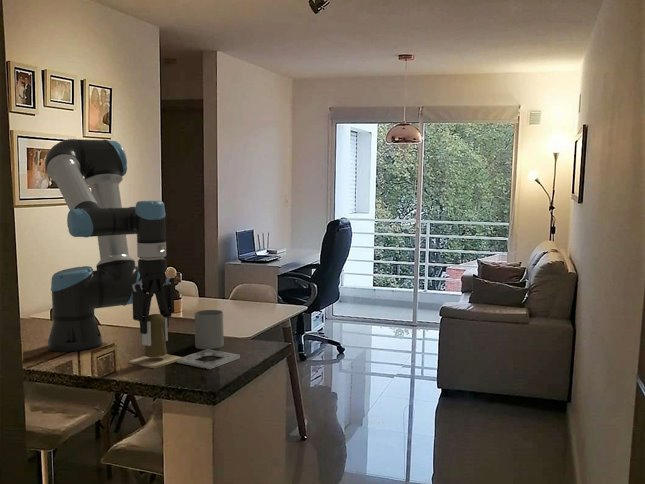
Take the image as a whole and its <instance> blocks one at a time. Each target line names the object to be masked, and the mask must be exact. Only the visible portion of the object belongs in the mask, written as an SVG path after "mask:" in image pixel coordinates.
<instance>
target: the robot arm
mask: <svg viewBox="0 0 645 484" xmlns="http://www.w3.org/2000/svg"><path fill="white" fill-rule="evenodd" d="M127 165H128V160H127V155H126V152H125V149H124V147H123V146H122V144H121V143H119V142H118V141H117V140H109V139H80V138H79V139H77V138H68V139H64V140H61V141H59V142H57V143H56V144H54V145H53V146H52V147H51V148H50V149H49V151H48V152H47V154H46V157H45V161H44V166H45V167H44V168H45V171H46V174H47V175H48V177H49V179H51V180H52V181H53V182H55V184H56V186H57V187H58V190H59V191H60V194H61V195H62V198H63V199H64V201H65V203H66V206H67V208H68V210H69V211H68V212H67V213H68V214H67V217H66V222H67V223H66V225H67V228H68V232H69V235H70V236H72V237H74V238H90V237H91V238H92V237H97V243H98V244H97V245H98V250H99V257H100V259H99V261H98V262H97V264H96V265H95V267H96V270H94V269H93V267H92V266H90V265H89V266H87V265H83V266H76V267H70V268H66V269H62V270H59V271H56V272H55V273H53V275H52V276H51V281H50V282H51V284H50V285H51V286H50V291H51V302H52V303H51V304H52V306H51V308H52V320H53V322H52V327H51V328H50V332H49V336H48V337H49V338H48V339H47V348H48V349H49V350H50V351H52V352H62V353H63V352H65V353H66V352H67V353H68V352H77V351H78V352H79V351H80V352H81V351H86V350H91V349H93V348H97V347H99V346H101V345H102V343H103V338H102V337H103V335H102V334H101V331H100V328H99V326H98V323H97V321H96V316H95V310H96V309H104V308H112V307H118V306H119V307H121V306H123V307H126V306H127V305H132V319H133V320H134V321H138V322H139V333H140V334H141V343H142V344H141V345H143V346H145V345H147V346H151V322H150V321H148V317H149V315H150V310H151V305H152V304H151V303H152V298H153V297H154V295H155V298H156V299H155V300H156V302H157V306H158V310H159V314H160V315H162V316H163V317H164V325H163V332H164V338H165V342H167V341H169V336H168V328H169V327H170V325H169V324H170V322H169V321H170V320H169V318H171V317H172V314H174V313H175V298H174V297H175V295H174V284H175V278H174V277H168V276H167V274H166V272H167V271H168V267H167V265H168V263H167V262H168V261H167V258H165V257H166V256H167V240H166V239H167V238H166V237H167V234H166V231H167V229H166V215H167V214H166V209H165V203H164V202H163V201H162V200H139V201H137V202H136V203H135V206H128V207H123V205H122V199H121V191H120V184H121V182H123V178H124V176H126V174H127V172H128V166H127ZM127 235H136V245H137V247H136V250H137V251H136V253H137V258H139V259H138V260H137V265H136V261H135V259H133V258H132V257H131V256H130V254H129V248H128V240H127Z"/></svg>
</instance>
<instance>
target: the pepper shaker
mask: <svg viewBox="0 0 645 484" xmlns="http://www.w3.org/2000/svg"><path fill="white" fill-rule="evenodd" d="M148 321H150V322H151V346H147V345H144V354H143V355H144V356H146V357H161V356H164V355H166V354H168V351H167V350H168V349H167V345H166V341H165V338H164V332H163V325H164V317H163V316H162V315H160V313H152V314H149V317H148Z"/></svg>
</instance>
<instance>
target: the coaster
mask: <svg viewBox="0 0 645 484" xmlns="http://www.w3.org/2000/svg"><path fill="white" fill-rule="evenodd" d="M182 357H183V356H178V355H173V354H168V353H167V354H166V355H164V356H161V357H146V356H140V357H138V358H137V357H136V358H134V359H131V360H129V361H128V363H129V364H133V365H136V366H141V367H145V368H151V369H154V370H155V369H157V368H161V367H164V366H167V365H170V364H173V363H177V359H178V358H182Z"/></svg>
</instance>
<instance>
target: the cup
mask: <svg viewBox="0 0 645 484" xmlns="http://www.w3.org/2000/svg"><path fill="white" fill-rule="evenodd" d="M193 314H194V340H195V341H194V343H195V345H194V347H195V348H196V349H199V350H206V349H211V350H215V349H219V348H222V347H224V342H225V341H224V338H225V337H224V312H223V310H218V309H202V310H199V311H195V312H194V313H193Z"/></svg>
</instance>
